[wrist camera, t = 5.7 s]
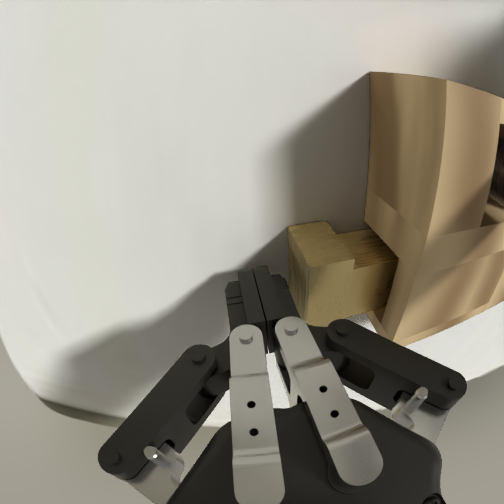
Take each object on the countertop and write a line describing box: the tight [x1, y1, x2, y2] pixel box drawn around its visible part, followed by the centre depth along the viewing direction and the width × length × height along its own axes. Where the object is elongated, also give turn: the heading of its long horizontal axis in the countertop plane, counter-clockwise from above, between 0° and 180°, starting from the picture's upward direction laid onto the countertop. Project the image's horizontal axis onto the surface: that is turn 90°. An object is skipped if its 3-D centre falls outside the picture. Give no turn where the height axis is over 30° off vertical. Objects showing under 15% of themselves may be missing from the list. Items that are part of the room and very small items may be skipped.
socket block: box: [364, 72, 504, 346], centre depth 12 cm, size 12×13×5 cm
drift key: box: [288, 221, 399, 327], centre depth 14 cm, size 5×8×3 cm, turn 96°
